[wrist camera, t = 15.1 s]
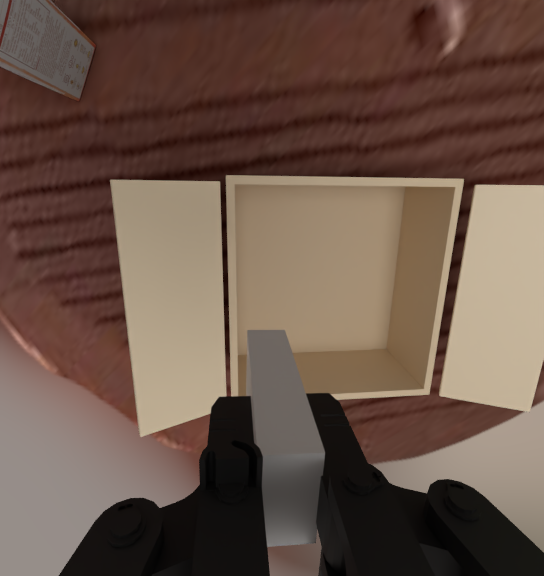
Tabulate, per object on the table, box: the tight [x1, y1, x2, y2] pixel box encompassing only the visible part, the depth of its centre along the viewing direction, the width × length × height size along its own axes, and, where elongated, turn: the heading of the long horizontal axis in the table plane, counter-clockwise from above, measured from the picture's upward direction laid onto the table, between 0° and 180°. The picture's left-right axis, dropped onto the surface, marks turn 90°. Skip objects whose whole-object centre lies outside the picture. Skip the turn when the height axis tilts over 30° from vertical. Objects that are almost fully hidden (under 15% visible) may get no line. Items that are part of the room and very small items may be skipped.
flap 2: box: [439, 185, 544, 412], centre depth 32 cm, size 21×1×8 cm
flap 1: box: [110, 180, 226, 437], centre depth 29 cm, size 21×1×8 cm
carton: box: [226, 175, 464, 400], centre depth 38 cm, size 22×21×10 cm
